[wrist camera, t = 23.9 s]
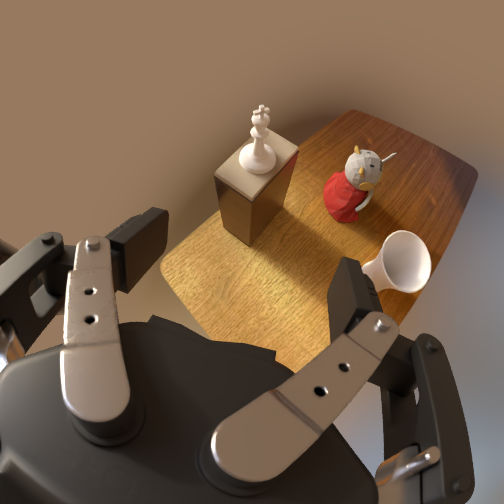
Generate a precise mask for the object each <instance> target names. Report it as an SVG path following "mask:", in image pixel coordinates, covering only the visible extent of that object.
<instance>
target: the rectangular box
mask: <svg viewBox="0 0 504 504" xmlns="http://www.w3.org/2000/svg"><path fill="white" fill-rule="evenodd" d="M268 131H269V135H268V137H267V138H265V139H264V144H266V145H268V146H270V147H271V148H272V149H273V150H274V152H275V154H276V164H275V166H274V167H273V169H271V170H270V171H269V172H266V173H263V174H253V173H250V172H248V171H246V170H245V169H244V168H243V167H242V166H241V164H240V162H239V156H240V152H241V150H242V149H243V148H244V147H245V146H246V145H248V144H251V143H254V140H255V138H254V137H251V138H250V139H249V140H248V141H247V142H246V143H245V144H244V145H242V146H241V148H239V149H238V150H237V151H236V152H235V153H234V154H233V155H232V156H231V157H230V158H229V159H228V160H227V161H226V162H225V163H224V164H223V165H222V166H221V167H220V168H219V169H218V170H217V171H216V172H215V176H214V181H215V186H216V191H217V196H218V201H219V207H220V212H221V217H222V222H223V227H224V228H225V229H226V230H228V231H229V232H230V233H232V234H233V235H234V236H236V237H237V238H238V239H240V240H241V241H242V242H244V243H245V244H246V245H248V246H249V247H250V245H251V244H252V243H253V242H254V241H255V239H256V238H257V237H258V236H259V235H260V233H261V232H262V231H263V230H264V228H265V227H266V226H267V225H268V224H269V222H270V221H271V220H272V219H273V218H274V216H275V215H276V214H277V213H278V212H279V210H280V209H281V208H282V207H283V203H284V200H285V197H286V193H287V190H288V187H289V183H290V180H291V177H292V173H293V170H294V166H295V163H296V160H297V156H298V153H299V151H298V147H297V146H296V145H294V144H292V143H291V142H289V141H287V140H286V139H284V138H282V137H281V136H279V135H277V134H276V133H274V132H272V131H271V130H269V129H268Z"/></svg>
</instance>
